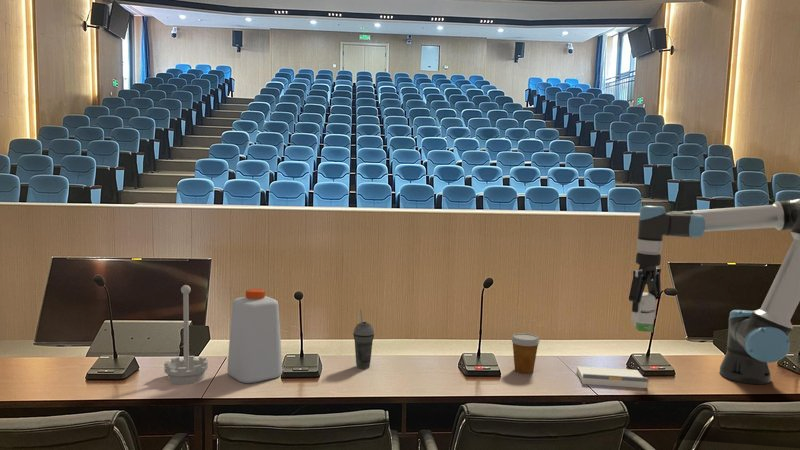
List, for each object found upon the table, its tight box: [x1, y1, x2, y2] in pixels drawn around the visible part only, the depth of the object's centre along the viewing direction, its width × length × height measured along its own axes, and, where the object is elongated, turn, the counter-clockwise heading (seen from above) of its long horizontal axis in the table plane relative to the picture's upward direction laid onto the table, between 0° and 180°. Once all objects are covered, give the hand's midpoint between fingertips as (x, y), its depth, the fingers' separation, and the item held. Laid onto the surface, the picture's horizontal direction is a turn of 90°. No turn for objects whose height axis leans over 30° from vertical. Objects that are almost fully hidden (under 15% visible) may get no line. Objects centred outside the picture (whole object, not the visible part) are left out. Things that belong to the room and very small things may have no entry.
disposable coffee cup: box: [511, 332, 540, 374], centre depth 206 cm, size 10×10×12 cm
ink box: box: [632, 291, 655, 333], centre depth 199 cm, size 9×5×12 cm, turn 170°
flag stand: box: [163, 284, 209, 385], centre depth 189 cm, size 13×13×30 cm
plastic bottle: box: [227, 288, 283, 384], centre depth 194 cm, size 15×15×28 cm
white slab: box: [576, 365, 649, 389], centre depth 199 cm, size 20×12×3 cm, turn 83°
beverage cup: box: [352, 309, 375, 370], centre depth 205 cm, size 7×7×20 cm
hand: (643, 319), depth 199 cm, fingers closed on ink box, 9 cm apart
